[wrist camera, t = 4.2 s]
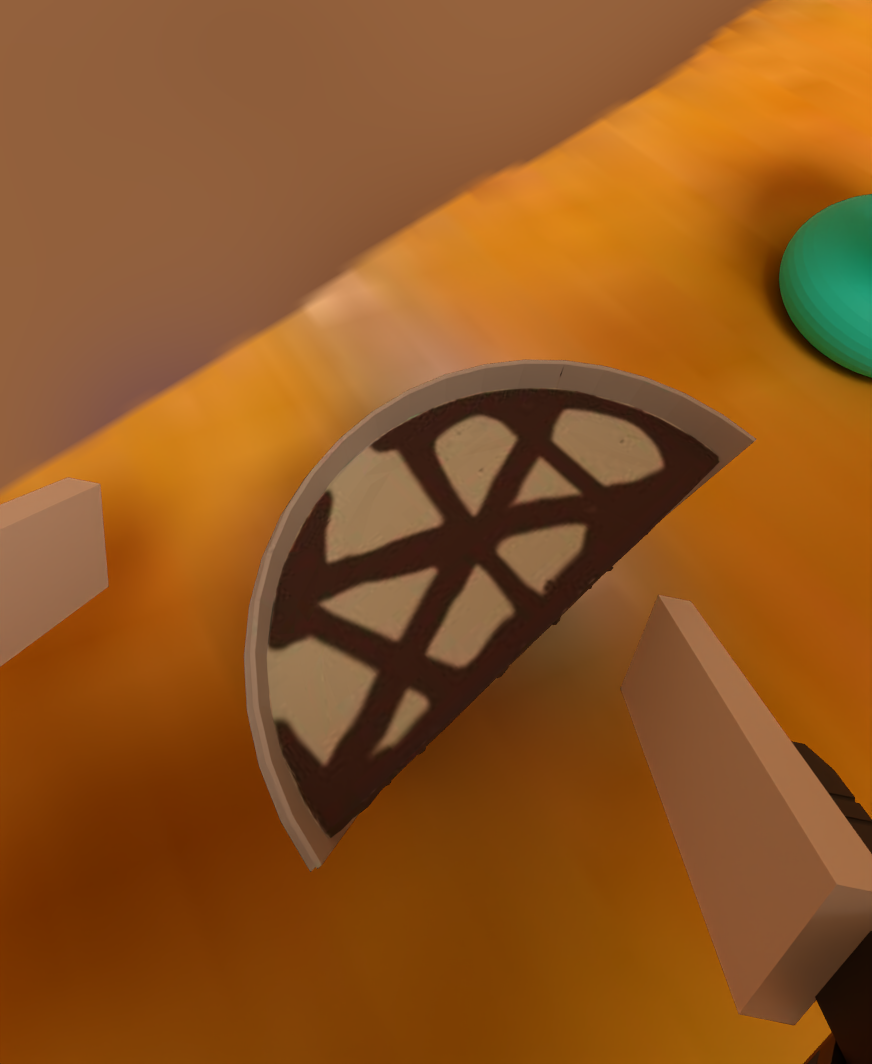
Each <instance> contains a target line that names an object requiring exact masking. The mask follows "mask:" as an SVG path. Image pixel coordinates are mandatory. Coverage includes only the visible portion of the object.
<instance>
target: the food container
mask: <svg viewBox="0 0 872 1064" xmlns="http://www.w3.org/2000/svg"><path fill="white" fill-rule="evenodd" d="M755 440H756V438H754V437H753V436H751V435H750V434H749V433H747V432H746V431H745V430H743V429H742V428H741V427H739V426H738V425H736V424H735V423H734V422H732V421H731V420H730V419H728V418H727V417H725V416H724V415H723V414H721V413H719V412H717V411H715V410H714V409H712V408H710V407H708V406H707V405H705V404H703V403H701V402H699V401H698V400H696V399H694V398H692V397H691V396H689V395H687V394H685V393H683V392H680V391H678V390H676V389H673V388H671V387H668V386H666V385H663V384H661V383H659V382H656V381H654V380H651V379H649V378H646V377H643V376H639V375H636V374H632V373H628V372H625V371H621V370H618V369H614V368H610V367H607V366H601V365H594V364H587V363H580V362H573V361H566V360H518V361H509V362H501V363H492V364H484V365H480V366H476V367H473V368H469V369H465V370H461V371H457V372H453V373H449V374H446V375H443V376H441V377H438V378H436V379H433V380H431V381H429V382H426V383H424V384H421V385H419V386H417V387H414V388H412V389H409V390H407V391H406V392H404V393H402V394H401V395H399V396H397V397H396V398H394V399H392V400H391V401H389V402H387V403H386V404H384V405H382V406H381V407H379V408H377V409H376V410H374V411H372V412H371V413H370V414H369V415H367V416H366V417H365V418H364V419H363V420H361V421H360V422H359V423H358V424H357V425H355V426H354V427H353V428H352V429H351V430H349V431H348V432H347V433H346V434H344V435H343V436H342V437H341V438H340V439H339V440H338V441H337V442H336V443H335V444H334V445H333V447H332V448H331V449H330V450H329V451H328V452H327V453H326V454H325V456H324V457H323V458H322V459H321V460H320V461H319V462H318V463H317V465H316V466H315V467H314V468H313V469H312V470H311V471H310V473H309V474H308V475H307V476H306V478H305V479H304V480H303V482H302V483H301V485H300V487H299V488H298V490H297V491H296V493H295V494H294V496H293V497H292V499H291V500H290V502H289V504H288V505H287V507H286V508H285V510H284V511H283V513H282V514H281V516H280V518H279V521H278V523H277V525H276V527H275V530H274V532H273V534H272V536H271V539H270V541H269V543H268V545H267V548H266V550H265V552H264V554H263V557H262V559H261V563H260V567H259V570H258V574H257V578H256V582H255V585H254V589H253V593H252V597H251V600H250V604H249V612H248V622H247V631H246V641H245V651H244V668H245V686H246V704H247V714H248V718H249V723H250V727H251V732H252V737H253V741H254V746H255V750H256V755H257V759H258V764H259V768H260V770H261V773H262V775H263V778H264V780H265V783H266V785H267V788H268V790H269V793H270V796H271V798H272V801H273V803H274V806H275V808H276V811H277V813H278V816H279V818H280V821H281V823H282V825H283V826H284V828H285V830H286V831H287V833H288V835H289V836H290V838H291V840H292V842H293V843H294V845H295V847H296V848H297V850H298V852H299V853H300V855H301V857H302V859H303V860H304V862H305V864H306V865H307V867H308V869H309V870H310V872H311V871H312V870H313V869H314V868H315V867H317V869H318V868H319V867H320V866H321V865H322V864H323V863H324V861H325V860H326V859H327V857H328V856H329V854H330V853H331V852H332V850H333V849H334V848H335V846H336V845H337V843H338V842H339V841H340V839H341V838H342V836H343V835H344V834H345V832H346V831H347V830H348V828H349V827H350V825H351V824H352V823H353V821H354V820H355V819H356V817H357V816H358V814H359V813H361V812H362V811H363V810H364V809H366V808H367V807H368V806H369V805H370V804H371V802H372V801H373V800H374V799H375V797H376V796H377V795H378V794H379V792H380V791H381V790H382V789H383V788H384V787H385V786H387V785H389V784H390V783H391V780H392V779H393V778H394V777H395V776H396V775H397V774H398V773H399V772H400V771H401V770H402V769H403V768H404V767H405V766H406V765H407V764H408V763H409V762H410V761H411V760H413V759H414V758H415V757H416V756H417V755H418V754H421V753H422V752H424V751H425V749H426V746H427V745H428V744H429V743H430V742H431V741H432V740H433V739H435V738H436V737H437V736H438V735H439V734H440V733H441V732H442V731H443V730H444V729H445V728H446V727H447V726H448V725H449V724H450V723H451V722H452V721H453V720H454V719H455V718H456V717H457V716H458V715H459V714H460V713H461V712H462V711H463V710H464V709H465V708H466V707H468V706H469V705H470V704H471V703H472V702H473V701H474V700H475V699H476V698H477V697H478V696H479V695H480V694H481V693H482V692H483V691H484V690H485V689H486V688H487V687H488V686H489V685H490V684H491V683H492V682H493V681H494V680H495V679H496V678H499V677H501V676H502V675H503V674H504V673H505V671H506V670H507V669H508V668H509V665H510V664H512V663H513V662H514V661H515V660H516V659H517V658H518V657H519V656H520V655H521V654H522V653H523V652H524V651H525V650H526V649H527V648H528V647H529V646H530V645H531V644H532V643H533V642H534V641H535V640H537V639H538V638H539V637H540V636H541V635H542V634H543V633H544V632H545V631H546V630H547V629H548V628H549V627H550V626H551V625H556V624H557V623H558V622H559V621H560V618H561V616H562V615H563V614H564V613H565V612H566V611H567V610H568V609H569V608H570V607H571V606H572V605H573V604H574V603H575V602H576V601H577V600H578V599H579V598H580V597H581V596H582V595H583V594H584V593H585V592H586V591H587V590H588V589H591V588H592V585H593V584H594V583H595V582H596V581H597V580H598V579H599V578H600V577H601V576H602V575H603V574H605V573H606V572H607V571H611V570H612V569H613V567H612V566H613V565H614V564H615V563H616V562H617V561H618V560H620V559H621V558H622V557H623V556H624V555H625V554H626V553H627V552H628V551H629V550H630V549H631V548H632V547H634V546H635V545H636V544H637V543H638V542H639V541H640V540H641V539H642V538H643V537H644V536H645V535H647V534H648V533H649V532H650V530H651V529H652V528H653V527H654V526H655V525H656V524H658V523H659V522H660V521H661V520H662V519H663V518H664V517H665V516H666V515H668V514H669V513H670V512H671V511H672V510H673V509H675V508H676V507H677V506H678V505H679V504H681V503H682V502H683V501H684V500H685V499H687V498H688V497H689V496H690V495H691V494H692V493H694V492H695V491H696V490H697V489H698V488H700V487H701V486H702V485H703V484H704V483H705V482H707V481H708V480H709V479H710V478H711V477H713V476H714V475H715V474H716V473H717V472H719V471H720V470H721V469H722V468H723V467H724V466H726V465H727V464H728V463H729V462H730V461H732V460H733V459H734V458H735V457H736V456H738V455H739V454H740V453H741V452H742V451H743V450H745V449H746V448H747V447H748V446H749V445H751V444H752V443H753V442H754V441H755Z"/></svg>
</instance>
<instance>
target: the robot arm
mask: <svg viewBox="0 0 872 1064" xmlns="http://www.w3.org/2000/svg"><path fill="white" fill-rule="evenodd" d="M108 586H109V585H108V573H107V561H106V549H105V536H104V524H103V512H102V500H101V487H100V484H98V483H93V482H88V481H83V480H78V479H73V478H65V479H63V480H60V481H58V482H55V483H53V484H50V485H48V486H45V487H43V488H40V489H38V490H36V491H33V492H31V493H28V494H26V495H23V496H21V497H18V498H16V499H13V500H11V501H8V502H6V503H3V504H1V505H0V667H1V666H2V665H3V664H5V663H6V662H7V661H9V660H10V659H11V658H13V657H14V656H15V655H17V654H18V653H19V652H21V651H22V650H23V649H25V648H26V647H28V646H29V645H30V644H32V643H33V642H34V641H36V640H37V639H38V638H40V637H41V636H42V635H44V634H45V633H46V632H48V631H49V630H50V629H52V628H53V627H54V626H56V625H57V624H59V623H60V622H61V621H63V620H64V619H65V618H67V617H68V616H69V615H71V614H72V613H73V612H75V611H76V610H77V609H79V608H80V607H81V606H83V605H84V604H86V603H87V602H88V601H90V600H91V599H92V598H94V597H95V596H96V595H98V594H99V593H100V592H102V591H103V590H104V589H106V588H107V587H108ZM620 689H621V691H622V694H623V697H624V700H625V702H626V705H627V708H628V711H629V713H630V716H631V719H632V722H633V724H634V727H635V730H636V733H637V735H638V738H639V741H640V744H641V746H642V749H643V752H644V755H645V757H646V760H647V763H648V766H649V768H650V771H651V774H652V777H653V779H654V782H655V785H656V788H657V790H658V793H659V796H660V799H661V801H662V804H663V807H664V810H665V812H666V815H667V818H668V821H669V823H670V826H671V829H672V832H673V834H674V837H675V840H676V843H677V845H678V848H679V851H680V854H681V856H682V859H683V862H684V865H685V867H686V870H687V873H688V876H689V878H690V881H691V884H692V887H693V889H694V892H695V895H696V898H697V900H698V903H699V906H700V909H701V911H702V914H703V917H704V920H705V922H706V925H707V928H708V931H709V933H710V936H711V939H712V942H713V944H714V947H715V950H716V953H717V955H718V958H719V961H720V964H721V966H722V969H723V972H724V975H725V977H726V980H727V983H728V986H729V988H730V991H731V994H732V997H733V999H734V1002H735V1005H736V1008H737V1010H738V1013H739V1014H741V1015H746V1016H751V1017H756V1018H761V1019H766V1020H771V1021H776V1022H781V1023H786V1024H791V1025H795V1024H796V1023H797V1022H798V1021H799V1020H800V1018H801V1017H802V1016H803V1015H804V1014H805V1013H806V1011H807V1010H808V1009H809V1008H810V1007H811V1005H812V1004H813V1003H814V1002H815V1001H816V1000H817V1002H818V1004H819V1006H820V1008H821V1010H822V1012H823V1015H824V1017H825V1019H826V1021H827V1023H828V1025H829V1027H830V1029H831V1031H832V1033H831V1034H830V1035H829V1036H828V1037H827V1038H826V1039H825V1040H824V1041H823V1043H822V1044H821V1045H820V1046H819V1047H818V1048H817V1049H816V1050H815V1051H814V1052H813V1054H812V1055H811V1056H810V1057H809V1058H808V1059H807V1060H806V1061H805V1062H804V1063H803V1064H872V819H871V818H870V817H869V815H868V814H867V813H866V811H865V810H864V809H863V807H862V806H861V805H860V804H859V803H855V797H854V796H853V794H852V793H851V792H850V790H849V789H848V788H847V787H846V785H845V784H844V783H843V781H842V780H841V779H840V777H839V776H838V775H837V773H836V772H835V771H834V770H833V769H832V768H831V767H830V766H829V765H828V764H827V763H825V762H824V761H823V760H822V759H821V758H820V757H819V756H817V755H816V754H815V753H814V752H813V751H812V750H811V749H809V748H808V747H807V746H806V745H805V744H802V743H797V742H792V741H791V740H790V739H789V738H788V736H787V735H786V733H785V732H784V731H783V729H782V728H781V726H780V725H779V724H778V722H777V721H776V719H775V718H774V717H773V715H772V714H771V712H770V711H769V710H768V708H767V707H766V705H765V704H764V703H763V701H762V700H761V698H760V697H759V696H758V694H757V693H756V691H755V690H754V689H753V687H752V686H751V684H750V683H749V682H748V680H747V679H746V677H745V676H744V675H743V673H742V672H741V670H740V669H739V668H738V666H737V665H736V663H735V662H734V661H733V659H732V658H731V656H730V655H729V654H728V652H727V651H726V649H725V648H724V647H723V645H722V644H721V642H720V641H719V640H718V638H717V637H716V635H715V634H714V633H713V631H712V630H711V628H710V627H709V626H708V624H707V623H706V621H705V620H704V619H703V617H702V616H701V614H700V613H699V612H698V610H697V609H696V607H695V606H694V605H693V603H692V602H691V601H687V600H682V599H677V598H672V597H667V596H662V595H658V597H657V599H656V602H655V604H654V607H653V609H652V612H651V614H650V617H649V619H648V622H647V624H646V627H645V629H644V632H643V634H642V636H641V639H640V641H639V644H638V646H637V649H636V651H635V654H634V656H633V659H632V661H631V664H630V666H629V669H628V671H627V674H626V676H625V678H624V681H623V683H622V686H621V688H620Z"/></svg>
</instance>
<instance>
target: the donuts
mask: <svg viewBox="0 0 872 1064" xmlns="http://www.w3.org/2000/svg"><path fill="white" fill-rule="evenodd" d="M779 286H780V293H781V296H782V300H783V303H784V305H785V308H786V310H787V313H788V315H789V316H790V318H791V320H792V322H793V323H794V325H795V326H796V328H797V329H798V330H799V331H800V333H801V334H802V335H803V336H804V337H805V338H806V339H807V340H808V342H809V343H810V344H812V345H813V346H814V347H815V348H816V349H817V350H819V351H820V352H821V353H822V354H824V355H825V356H827V357H828V358H830V359H831V360H833V361H834V362H836V363H838V364H840V365H841V366H843V367H845V368H847V369H849V370H851V371H854V372H856V373H859V374H862V375H864V376H868V377H871V378H872V194H869V195H862V196H857V197H852V198H849V199H846V200H843V201H840V202H838V203H835V204H833V205H830V206H829V207H827V208H825V209H823V210H822V211H820V212H818V213H817V214H815V215H814V216H812V217H811V218H810V219H809V220H808V221H807V222H806V223H805V224H803V225H802V226H801V227H800V228H799V230H798V231H797V232H796V233H795V235H794V236H793V237H792V239H791V240H790V242H789V244H788V246H787V248H786V250H785V252H784V254H783V257H782V261H781V266H780V273H779Z"/></svg>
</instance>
